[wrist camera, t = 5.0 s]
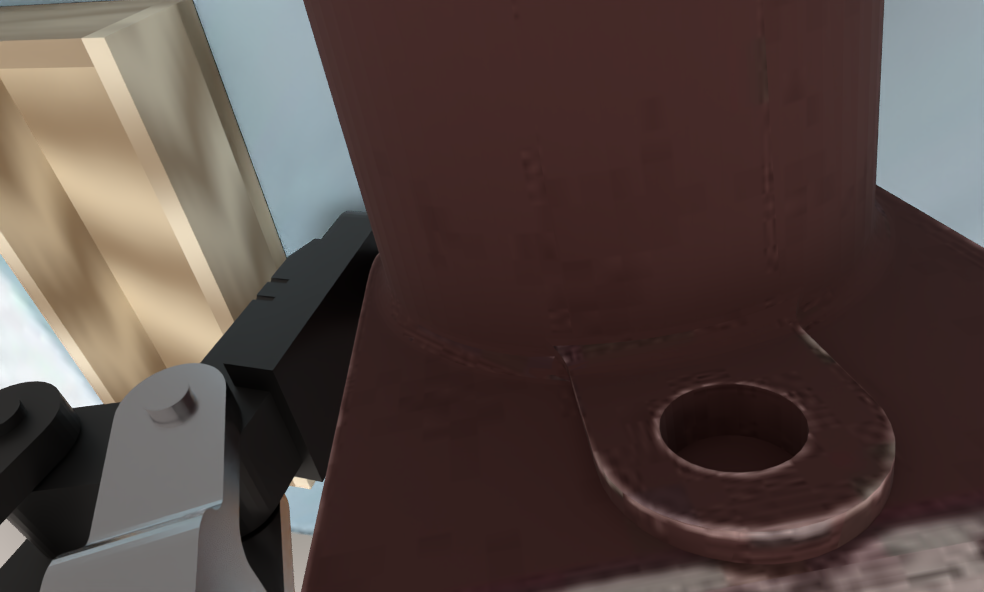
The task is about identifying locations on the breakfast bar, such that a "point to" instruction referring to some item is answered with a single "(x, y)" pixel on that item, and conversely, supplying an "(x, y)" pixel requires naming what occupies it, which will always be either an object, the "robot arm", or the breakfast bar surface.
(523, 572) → the bracket
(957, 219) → the breakfast bar surface
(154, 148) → the wooden tray
